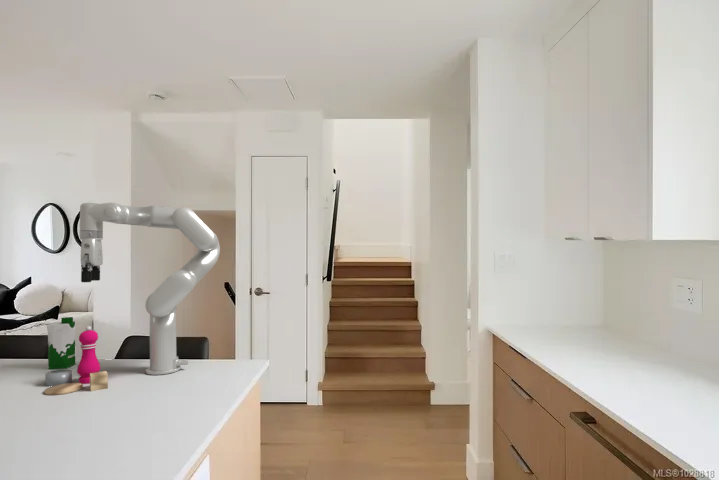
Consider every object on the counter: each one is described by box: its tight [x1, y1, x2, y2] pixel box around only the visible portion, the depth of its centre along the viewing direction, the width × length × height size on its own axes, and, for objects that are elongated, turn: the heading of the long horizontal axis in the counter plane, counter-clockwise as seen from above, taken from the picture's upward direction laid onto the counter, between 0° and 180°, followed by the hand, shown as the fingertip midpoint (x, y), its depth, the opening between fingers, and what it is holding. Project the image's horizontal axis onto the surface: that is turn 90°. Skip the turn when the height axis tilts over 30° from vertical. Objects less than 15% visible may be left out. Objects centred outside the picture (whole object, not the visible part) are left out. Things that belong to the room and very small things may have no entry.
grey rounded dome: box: [44, 368, 73, 387], centre depth 165 cm, size 8×8×4 cm
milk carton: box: [46, 316, 77, 370], centre depth 188 cm, size 9×9×20 cm
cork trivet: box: [43, 382, 84, 396], centre depth 156 cm, size 11×11×1 cm
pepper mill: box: [76, 325, 101, 385], centre depth 166 cm, size 7×7×20 cm
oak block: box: [89, 370, 109, 392], centre depth 158 cm, size 5×5×5 cm
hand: (90, 281), depth 173 cm, fingers open, 9 cm apart
